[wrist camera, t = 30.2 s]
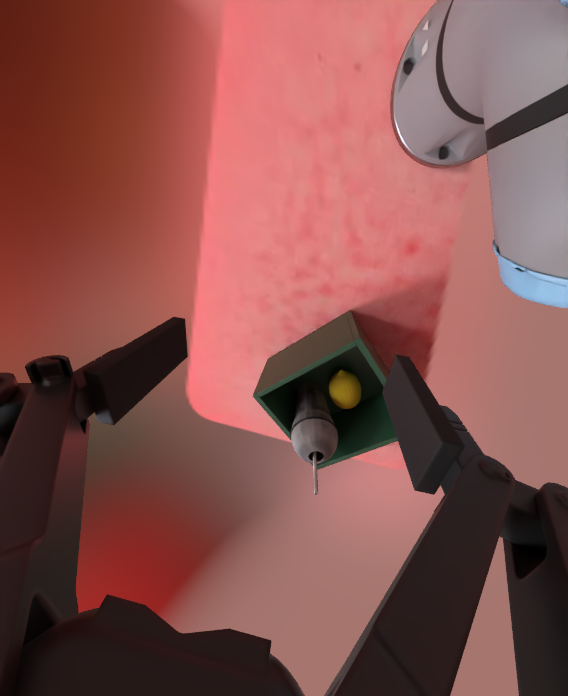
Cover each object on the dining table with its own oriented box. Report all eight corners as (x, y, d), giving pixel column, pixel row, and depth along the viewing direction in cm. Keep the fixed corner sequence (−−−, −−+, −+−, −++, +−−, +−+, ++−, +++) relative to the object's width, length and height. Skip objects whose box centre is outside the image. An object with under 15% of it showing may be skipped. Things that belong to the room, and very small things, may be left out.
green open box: (350, 309, 41) (359, 337, 31) (398, 386, 46) (420, 432, 36) (267, 358, 47) (252, 396, 37) (317, 421, 52) (316, 470, 42)
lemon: (345, 382, 39) (352, 421, 42) (364, 365, 42) (370, 403, 45) (318, 374, 43) (327, 411, 46) (337, 359, 46) (344, 394, 49)
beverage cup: (334, 378, 47) (358, 474, 29) (322, 408, 50) (338, 510, 32) (296, 370, 46) (297, 462, 28) (287, 401, 49) (282, 500, 31)
